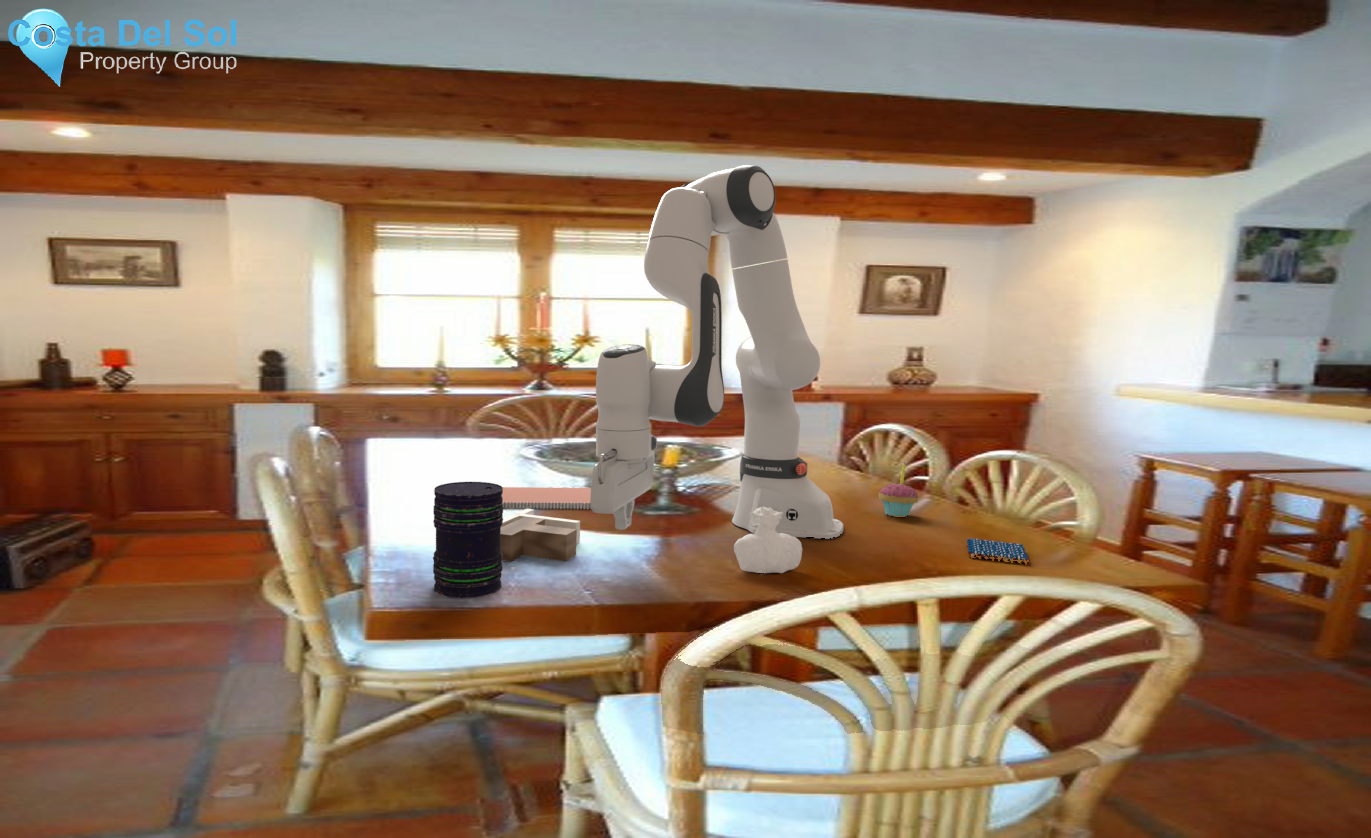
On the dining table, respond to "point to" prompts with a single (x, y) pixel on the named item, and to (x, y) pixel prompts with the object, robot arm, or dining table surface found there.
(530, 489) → the notebook
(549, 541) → the t block
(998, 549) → the woven mat
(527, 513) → the corner fence
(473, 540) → the rusty oil barrel
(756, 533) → the bust
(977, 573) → the dining table surface
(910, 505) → the cupcake
